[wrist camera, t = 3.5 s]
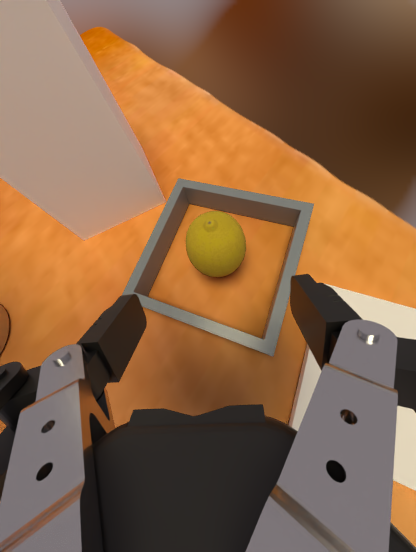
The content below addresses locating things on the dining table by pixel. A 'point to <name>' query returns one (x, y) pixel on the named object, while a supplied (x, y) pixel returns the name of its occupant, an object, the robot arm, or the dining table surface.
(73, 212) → the milk
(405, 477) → the board
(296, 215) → the grey square frame
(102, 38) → the dining table surface
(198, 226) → the lemon
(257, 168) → the dining table surface
